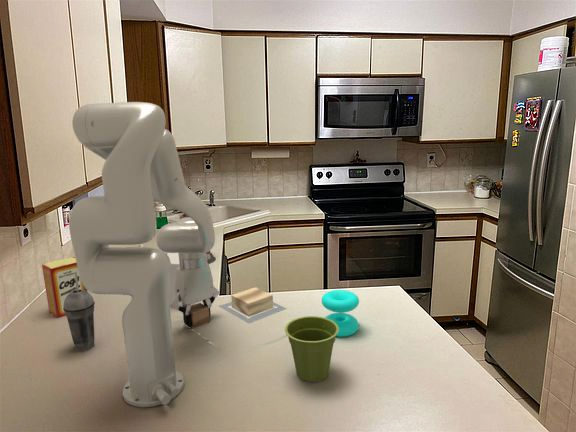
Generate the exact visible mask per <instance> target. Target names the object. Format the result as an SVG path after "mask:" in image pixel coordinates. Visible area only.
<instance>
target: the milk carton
mask: <svg viewBox="0 0 576 432" xmlns="http://www.w3.org/2000/svg"><path fill="white" fill-rule="evenodd" d="M166 253H167V252H166ZM167 255H168V257H169V259H170V262H171V277H170V291H169V299H170V308H172V307H171V303H172V302H173V300H174V298H175V278H176V270H177V268H179V267H180V266H179V254H178V253H167ZM194 304H195V303H193V304H191V305H194ZM178 305H180V306H181V307H182V301H180V302H179V303H178Z"/></svg>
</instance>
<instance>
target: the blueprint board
mask: <svg viewBox="0 0 576 432" xmlns="http://www.w3.org/2000/svg"><path fill="white" fill-rule="evenodd" d="M219 307H220V308H222V309H223V310H225V311H227V312H228V313H230V314H232V315H233V316H235V317H237V318H239V319H240V320H243V322H245V323H248V324H250V323H254V322H256V321H259V320H261V319H265V318H267V317H269V316H271V315H274V314H277V313H279V312H282V311H284V310H287V308H286V307H285V306H282V305H280V304H278V303H276V302H274V301H273V308H270V309H268V310H265V311H262V312H260V313H257V314H254V315H252V316H247V315H245V314H244V313H242V312H240V311H238V310H236V309H235V308H233V307H232V301H229V302H227V303H224V304H221V305H219Z"/></svg>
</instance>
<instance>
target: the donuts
mask: <svg viewBox="0 0 576 432" xmlns="http://www.w3.org/2000/svg"><path fill="white" fill-rule="evenodd" d="M321 304H322V306H323V307H324V308H325V309H326V310H328V311H330V312H333V313H330V314H327V315H326V316H325V317H324V318H327V319H330V320H332V321H334V322H335V323H336V324H337V325H338V327H339V332H338V334H337V335H336V337H338V338H339V337H341V338H342V337H349V336H352V335H354V334H355V333H357V331H358V329H359V326H360V325H359V322H358V321H359V320H358V319H357V318H356V317H355V316H354V315H351V314H349V312H351V311H353V310H355V309H357V307H358V306H359V304H360V299H359V297H358V295H357V294H356V293H354V292H352V291H349V290H344V289H343V290H342V289H334V290H329V291H327V292H325V293H324V294H323V295H322V297H321Z"/></svg>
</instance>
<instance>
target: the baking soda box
mask: <svg viewBox="0 0 576 432" xmlns="http://www.w3.org/2000/svg"><path fill="white" fill-rule="evenodd" d="M41 268H42V274H43V275H42V276H43V280H44V286H45V288H44V289H45V293H46V299H47V305H48V312H50V313H49V314H51V313H52V314H53V315H52V314H51V315H52V316H54V317H55V316H56V318H57V319H60V318H64V317H66V315H65V312H64V310H63V308H64V300H65V298H66V297H67V295H68V294H69V293H71V292H72V291H74V290H76V281H75V273H76V272H77V279H78V288H79V290H85V291H87V292H88V290H86V289H85V287H84V286H83V284H82V282H81V279H80V275H79V271H78V267H77V263H76V258H75V256H73V257H68V258H64V259H57V260H54V261H53V260H52V261H51V262H50V261H49V262H47V263H43V264H42V265H41Z"/></svg>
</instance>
